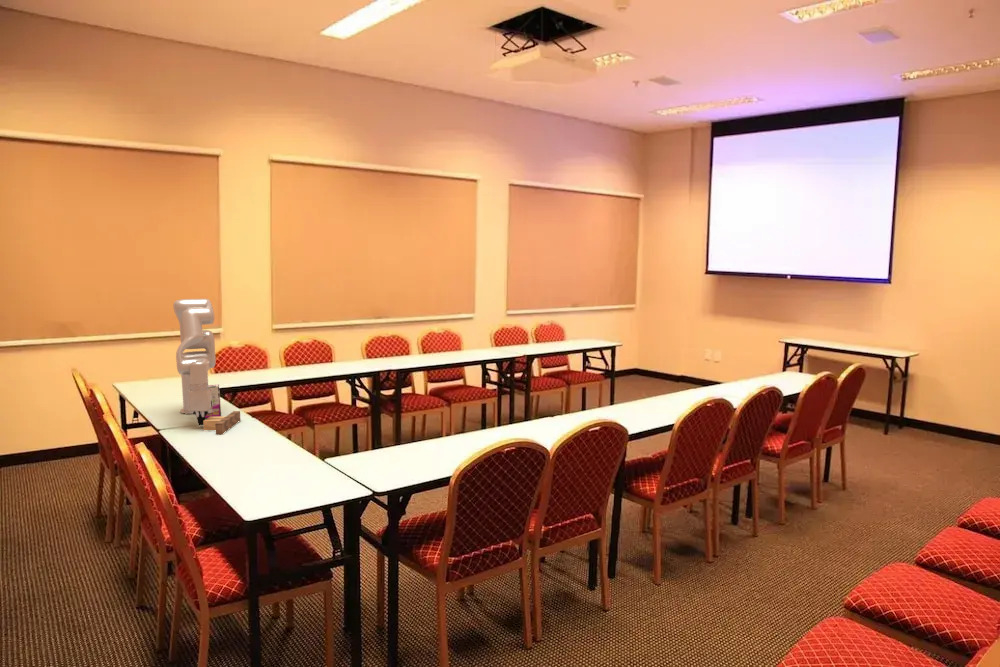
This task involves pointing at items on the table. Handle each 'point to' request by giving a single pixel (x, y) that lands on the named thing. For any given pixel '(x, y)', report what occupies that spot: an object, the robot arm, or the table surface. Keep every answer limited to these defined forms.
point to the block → (212, 422)
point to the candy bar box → (214, 401)
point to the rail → (227, 422)
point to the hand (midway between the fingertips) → (201, 424)
